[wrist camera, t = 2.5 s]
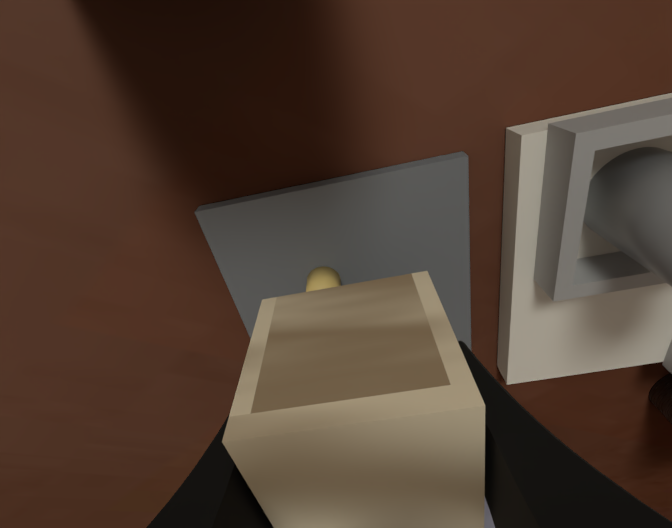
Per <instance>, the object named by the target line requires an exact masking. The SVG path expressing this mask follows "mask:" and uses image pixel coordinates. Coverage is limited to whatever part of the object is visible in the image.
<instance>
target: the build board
mask: <svg viewBox="0 0 672 528" xmlns="http://www.w3.org/2000/svg"><path fill="white" fill-rule="evenodd" d="M658 362H663V364H662V365H663V366H664V367H665V368H666V369H667V370H668V371H669V372H670V373H671V374H672V93H669V94H664V95H660V96H655V97H650V98H646V99H641V100H636V101H631V102H627V103H622V104H617V105H612V106H608V107H603V108H598V109H593V110H589V111H584V112H579V113H575V114H570V115H565V116H560V117H556V118H551V119H546V120H541V121H537V122H532V123H527V124H522V125H518V126H513V127H508V128H506V142H505V169H504V195H503V222H502V249H501V275H500V302H499V329H498V355H497V367H498V369H499V371H500V373H501V374H502V376H503V378H504V380H505V382H506V384H507V385H508V384H515V383H522V382H529V381H535V380H542V379H549V378H556V377H563V376H569V375H576V374H583V373H590V372H597V371H604V370H610V369H617V368H624V367H631V366H638V365H644V364H651V363H658Z"/></svg>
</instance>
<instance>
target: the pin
mask: <svg viewBox="0 0 672 528" xmlns="http://www.w3.org/2000/svg"><path fill="white" fill-rule="evenodd" d="M649 399H650V401H651V402H652V403H653V404H654V405H655V406H656V407H657V409H658V410H659V411H660V412H661V413H662V414H663V415H664V416H665V417H666V419H667V420H668V421H669V422H670V423H671V424H672V374H671V373H670V374H668V375H667V376H665V377H663V378H662V379H660V380H659V381H658V382H657V383H656V384H655V385H654V386H653V387H652V389H651V390H650V393H649Z"/></svg>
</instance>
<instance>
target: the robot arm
mask: <svg viewBox="0 0 672 528" xmlns="http://www.w3.org/2000/svg"><path fill="white" fill-rule="evenodd" d="M458 343H459V346H460V348H461V350H462V353H463V355H464V357H465V360H466V362H467V364H468V366H469V369H470V371H471V373H472V376H473V378H474V380H475V383H476V385H477V387H478V390H479V392H480V394H481V397H482V399H483V401H484V404H485V502H484V528H672V522H671V521H669V520H668V519H666V518H665V517H663V516H662V515H660V514H659V513H657V512H656V511H654V510H653V509H651V508H650V507H648V506H647V505H645V504H644V503H642V502H641V501H640V500H638V499H637V498H635V497H634V496H633V495H631V494H630V493H628V492H627V491H626V490H624V489H623V488H621V487H620V486H619V485H617V484H616V483H615V482H613V481H612V480H610V479H609V478H608V477H606V476H605V475H603V474H602V473H601V472H599V471H598V470H597V469H595V468H594V467H593V466H591V465H590V464H589V463H587V462H586V461H585V460H584V459H582V458H581V457H580V456H579V455H577V454H576V453H575V452H573V451H572V450H571V449H570V448H569V447H567V446H566V445H565V444H564V443H563V442H561V441H560V440H559V439H558V438H557V437H555V436H554V435H553V434H552V433H551V432H550V431H548V430H547V429H546V428H545V427H544V426H543V425H542V424H540V423H539V422H538V421H537V420H536V419H535V418H534V417H533V416H532V415H531V414H530V413H529V412H528V411H526V410H525V409H524V408H523V407H522V406H521V405H520V404H519V403H518V402H517V401H516V400H515V399H514V398H513V397H512V396H511V395H510V394H509V393H508V392H507V391H506V390H505V389H504V388H503V387H502V386H501V385H500V384H499V383H498V382H497V380H496V379H495V378H494V377H493V376H492V375H491V374H490V373H489V372H488V371H487V369H486V368H485V367H484V366H483V365H482V364H481V363H480V361H479V360H478V359H477V358H476V357H475V355H474V354H473V353H472V352H471V350H470V349H469V348H468V347H467V345H466V344H465V343H464V342H463V341H458ZM229 415H230V414H229ZM228 418H229V416H228V417H227V419H226V421H225V422H224V424H223V425H222V427H221V429H220V430H219V432H218V434H217V435H216V437H215V438H214V440H213V441H212V443H211V444H210V446H209V447H208V449H207V450H206V452H205V453H204V454H203V456H202V457H201V459H200V460H199V462H198V463H197V465H196V466H195V468H194V469H193V470H192V472H191V473H190V474H189V476H188V477H187V478H186V480H185V481H184V482H183V484H182V485H181V486H180V488H179V489H178V490H177V492H176V493H175V494H174V495H173V497H172V498H171V499H170V500H169V502H168V503H167V504H166V505H165V506H164V508H163V509H162V510H161V511H160V512H159V514H158V515H157V516H156V517H155V518H154V520H153V521H152V522H151V523H150V524H149V525H148V526H147V528H274V527H273V526H272V524H271V522H270V521H269V519H268V517H267V516H266V514H265V512H264V511H263V509H262V507H261V506H260V504H259V503H258V501H257V499H256V498H255V496H254V494H253V493H252V491H251V489H250V488H249V486H248V484H247V483H246V481H245V479H244V478H243V476H242V474H241V473H240V471H239V469H238V468H237V466H236V464H235V463H234V461H233V459H232V458H231V456H230V454H229V453H228V451H227V449H226V448H225V446H224V445H223V443H222V440H223V436H224V433H225V429H226V426H227V422H228Z"/></svg>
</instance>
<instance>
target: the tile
mask: <svg viewBox="0 0 672 528" xmlns="http://www.w3.org/2000/svg"><path fill="white" fill-rule="evenodd" d="M195 215H196V217H197V219H198V221H199V224H200V226H201V228H202V230H203V233H204V235H205V237H206V239H207V242H208V244H209V246H210V248H211V251H212V253H213V255H214V257H215V260H216V262H217V264H218V266H219V269H220V271H221V273H222V275H223V278H224V280H225V282H226V284H227V287H228V289H229V291H230V293H231V296H232V298H233V300H234V302H235V305H236V307H237V309H238V311H239V314H240V316H241V318H242V320H243V323H244V325H245V327H246V329H247V332H248V334H249V336H250V338H251V337H252V333H253V330H254V326H255V323H256V319H257V316H258V312H259V309H260V305H261V302H262V300H263V299H268V298H274V297H280V296H285V295H291V294H297V293H303V292H308V291H314V290H320V289H325V288H331V287H337V286H343V285H348V284H354V283H360V282H365V281H371V280H377V279H383V278H388V277H394V276H400V275H405V274H411V273H417V272H423V271H428V273H429V276H430V278H431V280H432V283H433V285H434V287H435V290H436V292H437V294H438V297H439V299H440V301H441V304H442V306H443V308H444V311H445V313H446V315H447V318H448V320H449V322H450V325H451V327H452V329H453V332H454V334H455V336H456V339H457V341H463V342H464V343H465V344H466V345H467V347H468V348H469V349H470V350H471V306H470V241H469V175H468V155H467V154H465V153H464V152H463V151H462V152H457V153H452V154H447V155H443V156H438V157H433V158H428V159H423V160H419V161H414V162H409V163H404V164H399V165H394V166H390V167H385V168H380V169H375V170H370V171H366V172H361V173H356V174H351V175H346V176H341V177H337V178H332V179H327V180H322V181H317V182H313V183H308V184H303V185H298V186H293V187H288V188H284V189H279V190H274V191H269V192H264V193H260V194H255V195H250V196H245V197H240V198H236V199H231V200H226V201H221V202H216V203H211V204H207V205H202V206H199V207H198V208H197V210H196V211H195Z"/></svg>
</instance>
